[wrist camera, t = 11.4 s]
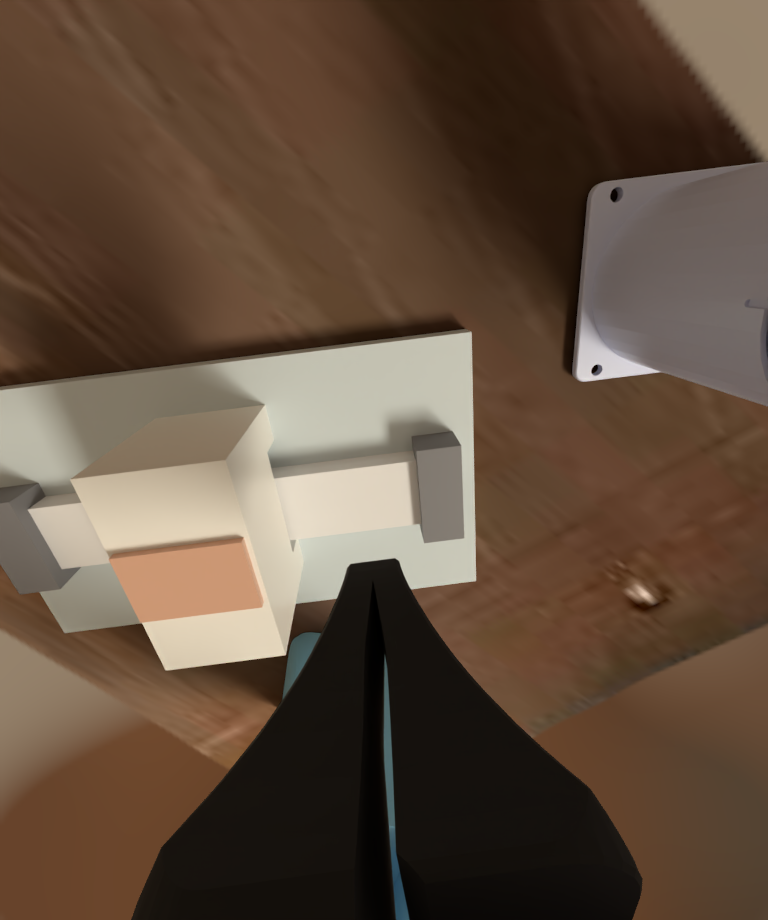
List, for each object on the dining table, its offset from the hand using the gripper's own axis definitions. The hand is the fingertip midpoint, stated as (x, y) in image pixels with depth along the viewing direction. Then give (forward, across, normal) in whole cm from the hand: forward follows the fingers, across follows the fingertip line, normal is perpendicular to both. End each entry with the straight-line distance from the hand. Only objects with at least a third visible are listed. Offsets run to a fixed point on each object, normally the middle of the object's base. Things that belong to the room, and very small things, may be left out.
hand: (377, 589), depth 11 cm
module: (+9, +7, +2) cm, 12 cm away
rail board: (+10, +7, +2) cm, 13 cm away
